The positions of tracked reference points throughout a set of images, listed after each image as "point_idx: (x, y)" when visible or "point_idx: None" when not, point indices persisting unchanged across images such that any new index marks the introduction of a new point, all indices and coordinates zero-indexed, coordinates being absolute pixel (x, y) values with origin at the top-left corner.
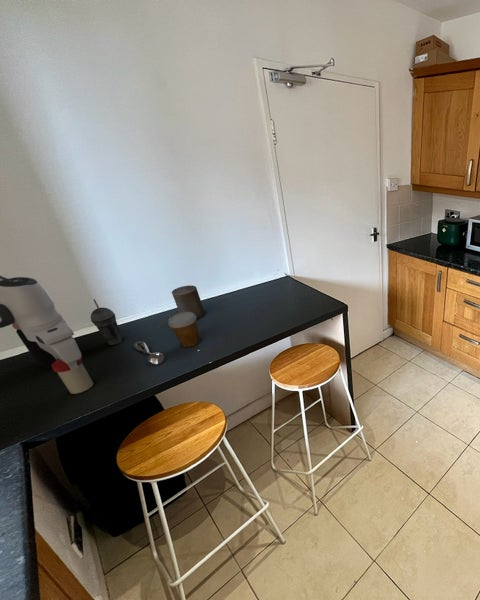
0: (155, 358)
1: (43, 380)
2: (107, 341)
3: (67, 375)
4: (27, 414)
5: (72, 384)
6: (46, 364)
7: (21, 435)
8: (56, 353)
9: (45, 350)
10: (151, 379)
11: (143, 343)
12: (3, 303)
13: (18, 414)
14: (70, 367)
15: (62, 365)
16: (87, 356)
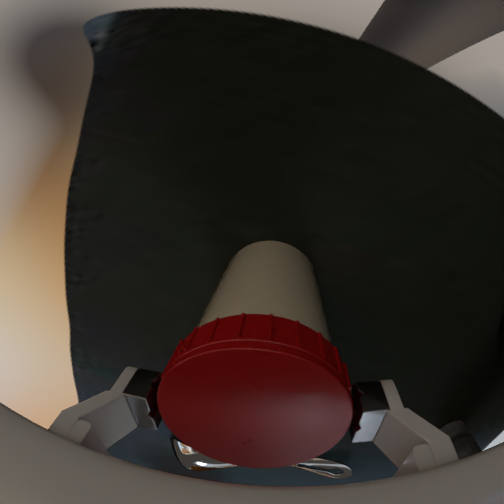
0: (175, 454)
1: (490, 229)
2: (456, 432)
3: (201, 320)
4: (273, 75)
5: (220, 281)
6: None
7: (134, 40)
8: (8, 493)
9: (458, 470)
10: (101, 388)
11: (327, 475)
12: None
13: (314, 58)
14: (115, 384)
15: (189, 388)
16: (471, 371)
